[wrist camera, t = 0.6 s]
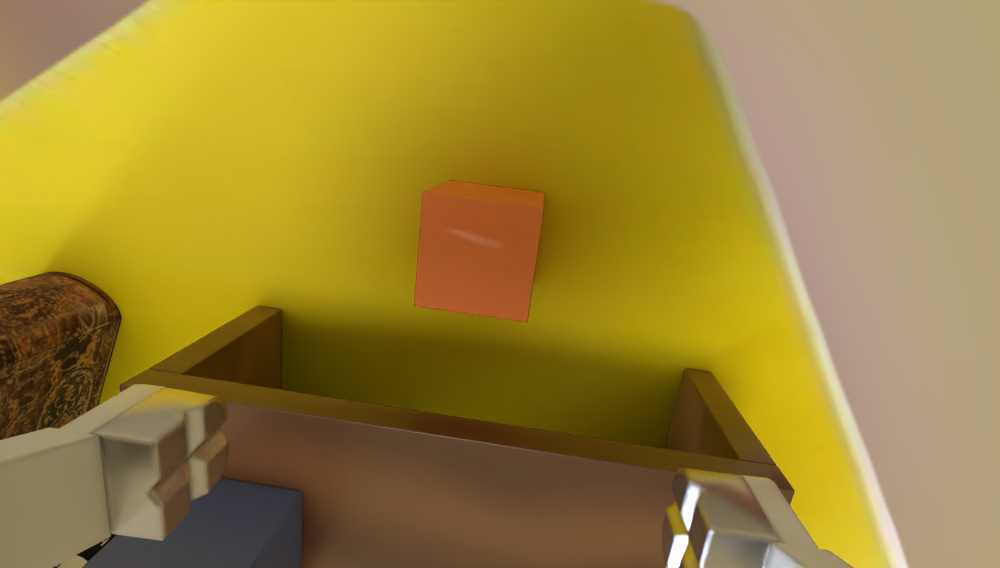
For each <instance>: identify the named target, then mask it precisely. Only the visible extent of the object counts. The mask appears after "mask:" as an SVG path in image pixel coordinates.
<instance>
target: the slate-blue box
mask: <svg viewBox="0 0 1000 568" xmlns="http://www.w3.org/2000/svg"><path fill="white" fill-rule="evenodd" d="M190 506H191V512H190V513H189V514H188V515H187V516H186V517H185V518H184V519H183V520H182V521H181V522H180V523H179V524H178V525H177V526H176V527H175V528H174V530H173V531H172V532H171V533H170V534H169V535H168V536H167V537H166V538H165V539H164V540H163V541H160V540H153V539H145V538H138V537H131V536H123V535H116V536H115V537H114V538H113V539H112V540H111V541H110V542H109V543H108V544H107V545H105V546H104V547H103V548H102V549H101V550H100V551H99V552H98V553H97V554H96V555H95V556H94V557H92V558H91V559H90V560H89V561H88V562H87V563H86V564H85V565H84V566H83V567H82V568H302V509H303V492H302V491H297V490H291V489H285V488H279V487H273V486H267V485H261V484H255V483H249V482H243V481H237V480H230V479H224V478H220V480H219V482H218V483H217V484H216V485H215V486H214V487H213V488H212V490H211V491H210V492H209V493H208V494H206V495H204V496H201V497H199V498H197V499H195V500H192V501H190Z"/></svg>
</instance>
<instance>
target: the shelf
mask: <svg viewBox="0 0 1000 568" xmlns="http://www.w3.org/2000/svg"><path fill="white" fill-rule="evenodd" d="M134 384H147V385H155V386H162V387H166V388H173V389H179V390H184V391H190V392H196V393H202V394H207V395H213V396H219V397H221V398H222V399H223V400H224V401H225V402H226V407H227V420H226V422H225V423H224V424H223V425H222V426H221V428H220V430H221V431H222V432H223V434H224V435H225V437H226V438H227V440H228V445H229V454H228V459H227V464H226V467H225V469H224V471H223V474H222V476H221V478H224V479H230V480H237V481H243V482H249V483H255V484H261V485H267V486H273V487H279V488H285V489H291V490H297V491H302V492H303V509H302V568H666V564H665V560H664V556H663V549H662V526H663V521H664V516H665V512H666V509H667V508H668V507H669V506H671V505H672V504H673V503H674V502H676V500H675V497H674V494H673V491H672V488H671V487H672V483H673V479H674V476H675V473H676V472H677V470H678V468H679V467H680V468H688V469H695V470H703V471H711V472H719V473H726V474H734V475H745V476H754V477H762V478H769V479H770V480H772V481H773V482H775V484H776V485H777V487H778V488H779V490H780V491H781V493H782V494H783V496H784V497H785V499H786V500H787V502H788V503H789V505H790V503H791V500H792V497H793V494H794V489H793V488H792V486H791V485H790V483H789V482H788V481H787V479H786V478H785V476H784V475H783V473H782V472H781V471H780V469H779V468H778V467H777V466H776V464H775V462H774V461H773V460H772V458H771V457H770V455H769V454H768V452H767V451H766V450H765V448H764V447H763V445H762V444H761V442H760V441H759V440H758V438H757V437H756V435H755V434H754V432H753V431H752V430H751V428H750V427H749V425H748V424H747V422H746V421H745V420H744V418H743V417H742V415H741V414H740V412H739V411H738V410H737V408H736V407H735V405H734V404H733V402H732V401H731V400H730V398H729V397H728V395H727V394H726V392H725V391H724V390H723V388H722V387H721V385H720V384H719V382H718V381H717V379H716V378H715V377H714V375H713V374H712V373H711V372H707V371H700V370H693V369H685V370H684V374H683V378H682V382H681V386H680V390H679V394H678V398H677V402H676V407H675V411H674V415H673V419H672V423H671V427H670V431H669V435H668V440H667V444H666V448H665V449H662V448H656V447H649V446H643V445H636V444H630V443H623V442H617V441H610V440H604V439H597V438H591V437H584V436H578V435H571V434H565V433H558V432H552V431H545V430H539V429H532V428H526V427H519V426H513V425H506V424H500V423H493V422H487V421H481V420H474V419H468V418H461V417H455V416H448V415H442V414H435V413H429V412H422V411H416V410H409V409H403V408H396V407H390V406H383V405H377V404H370V403H364V402H357V401H351V400H344V399H338V398H331V397H325V396H318V395H312V394H305V393H299V392H292V391H286V390H281V309H275V308H268V307H262V306H256V307H254V308H252V309H251V310H249V311H247V312H246V313H244V314H242V315H240V316H239V317H237V318H235V319H234V320H232V321H230V322H228V323H227V324H225V325H223V326H221V327H220V328H218V329H216V330H215V331H213V332H211V333H209V334H208V335H206V336H204V337H202V338H201V339H199V340H197V341H196V342H194V343H192V344H190V345H189V346H187V347H185V348H183V349H182V350H180V351H178V352H177V353H175V354H173V355H171V356H170V357H168V358H166V359H165V360H163V361H161V362H159V363H158V364H156V365H154V366H152V367H151V368H149V369H147V370H145V371H143V372H142V373H140V374H138V375H137V376H135V377H133V378H131V379H130V380H128V381H126V382H124V383H123V384H121V385H120V392H122V391H124V390H125V389H127V388H129V387H130V386H132V385H134Z"/></svg>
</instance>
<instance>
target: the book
mask: <svg viewBox="0 0 1000 568" xmlns="http://www.w3.org/2000/svg"><path fill="white" fill-rule="evenodd" d="M120 319H121V316H120V313H119V311H118V309H117V307H116V306H115V304H114V303H113V301H112V300H111V299H110V298H109V297H108V296H107V295H106V294H105V293H104V292H102V291H101V290H100V289H99V288H97V287H96V286H94V285H92V284H91V283H89V282H87V281H85V280H83V279H81V278H79V277H77V276H74V275H71V274H67V273H62V272H47V273H43V274H39V275H36V276H32V277H28V278H24V279H21V280H17V281H13V282H9V283H6V284H2V285H0V440H3V439H7V438H11V437H15V436H19V435H22V434H26V433H30V432H34V431H38V430H42V429H46V428H57V429H59V428H61V427H63V426H64V425H66V424H68V423H69V422H71V421H73V420H75V419H76V418H78V417H80V416H81V415H83V414H85V413H86V412H88V411H90V410H91V409H93V408H95V407H97V404H98V401H99V397H100V393H101V390H102V386H103V382H104V379H105V375H106V371H107V367H108V364H109V360H110V356H111V353H112V349H113V345H114V342H115V338H116V334H117V331H118V327H119V323H120Z"/></svg>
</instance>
